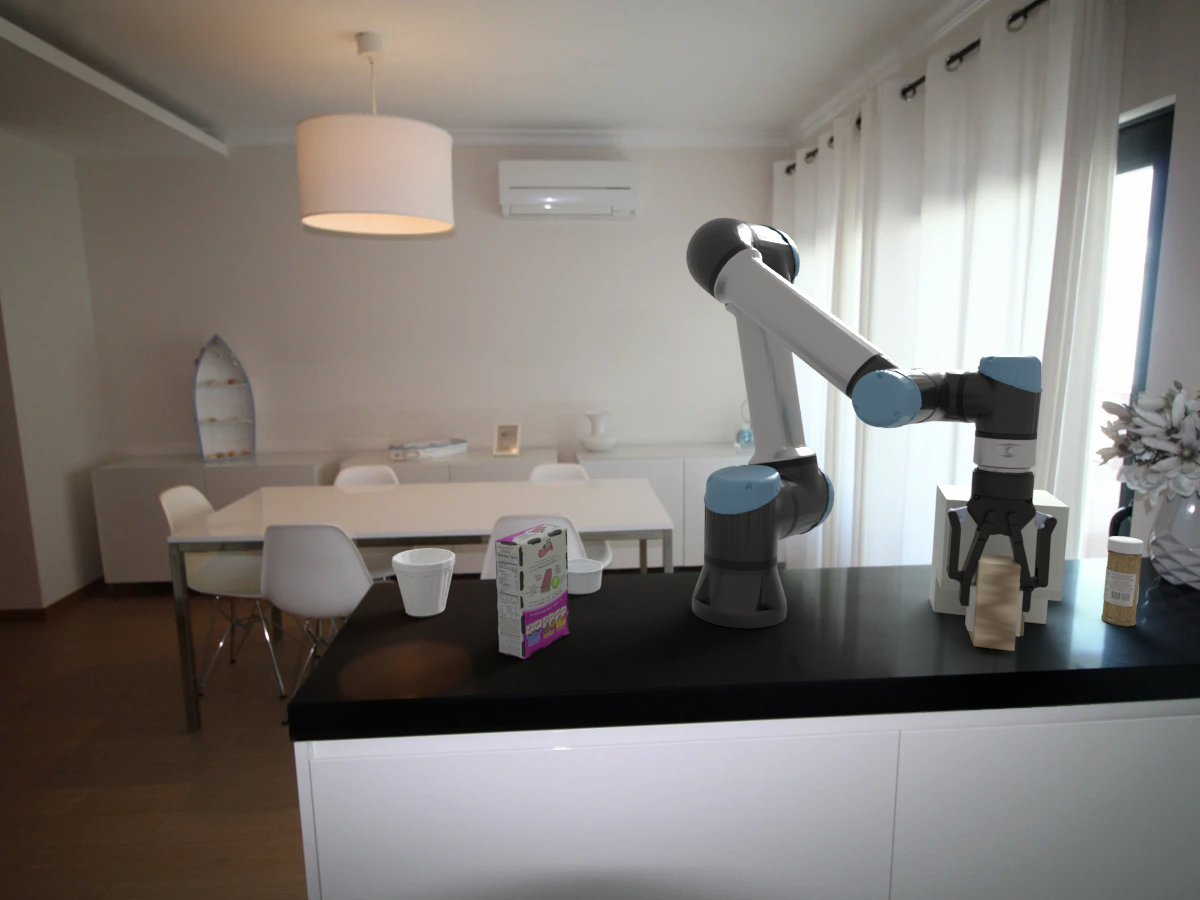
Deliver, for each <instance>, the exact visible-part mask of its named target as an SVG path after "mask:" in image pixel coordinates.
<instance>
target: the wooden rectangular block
mask: <svg viewBox="0 0 1200 900" xmlns="http://www.w3.org/2000/svg"><path fill="white" fill-rule="evenodd" d="M1020 570H1021V566H1020V565H1019V564H1018V563H1017V562H1016V561H1015V560H1014V557H1009V556H997V555H985V554H982V555H981V557H980V560H978V565H977V568H976V571H975V573H974V576H973V580H972V581H974V583H975V585H976V587H977V588H976V603H975V617H974V631H968V635H969V637H970V639H971V642H972V644H973V647H978V648H979V647H980V648H988V649H996V650H1003V651H1012V652H1015V650H1016V648H1015V646H1016V637H1017V636H1016V623H1017V610H1018V597H1019V583H1020Z"/></svg>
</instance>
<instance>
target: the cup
mask: <svg viewBox="0 0 1200 900" xmlns="http://www.w3.org/2000/svg"><path fill="white" fill-rule="evenodd" d="M455 565H456V553H454V552H453V551H451V550H449V549H443V548H434V547H431V548H430V547H427V548H426V547H425V548H415V549H409V550H404V551H401V552H398V553H396V554H395V555H393V556H392V559H391V567H392V568H393V570H394V572H395V575H396V578H397V582H398V586H399V591H400V594H401V597H402V598H401V599H402V601H403V606H404V608H405V613H406V615H407V616H409V617H413V618H418V619H419V618H421V619H424V618H432V617H436V616H438V615H441V614H442V613H443V612H444V611H445V609H446V605H447V599H448V596H449V592H450V591H449V590H450V586H451V583H452V577H453V572H454V566H455Z"/></svg>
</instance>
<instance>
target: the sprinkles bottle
mask: <svg viewBox="0 0 1200 900" xmlns="http://www.w3.org/2000/svg"><path fill="white" fill-rule="evenodd" d="M1144 544H1145V542H1144V541H1143V540H1141V539H1139V538H1134V537H1130V536H1123V535H1122V536H1120V535H1117V536H1116V535H1115V536H1114V535H1113V536H1109V537H1108V539H1107V544H1106V545H1107V546H1106V548H1107V562H1106V568H1105V580H1104V587H1103V598H1102V599H1103V604H1102V614H1101V616H1100V617H1101V619H1102V620H1103V621H1104V622H1106V623H1108V624H1110V625H1114V626H1120V627H1132V626H1135V625H1137V620H1136V617H1137V609H1138V608H1137V607H1138V606H1137V605H1138V602H1139V591H1140V577H1141V564H1142V556H1143V554H1144V551H1145V550H1144V549H1145V545H1144Z"/></svg>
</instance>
